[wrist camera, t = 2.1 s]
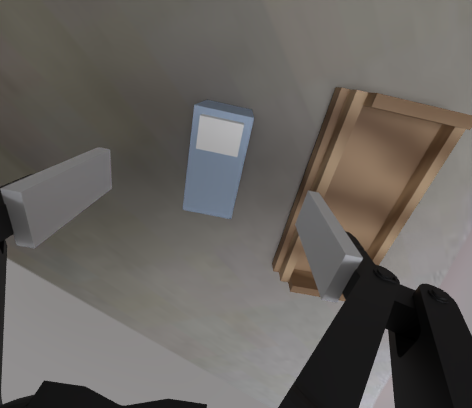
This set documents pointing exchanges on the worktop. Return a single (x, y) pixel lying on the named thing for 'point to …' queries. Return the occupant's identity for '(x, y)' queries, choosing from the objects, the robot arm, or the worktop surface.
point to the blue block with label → (216, 157)
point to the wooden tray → (369, 172)
